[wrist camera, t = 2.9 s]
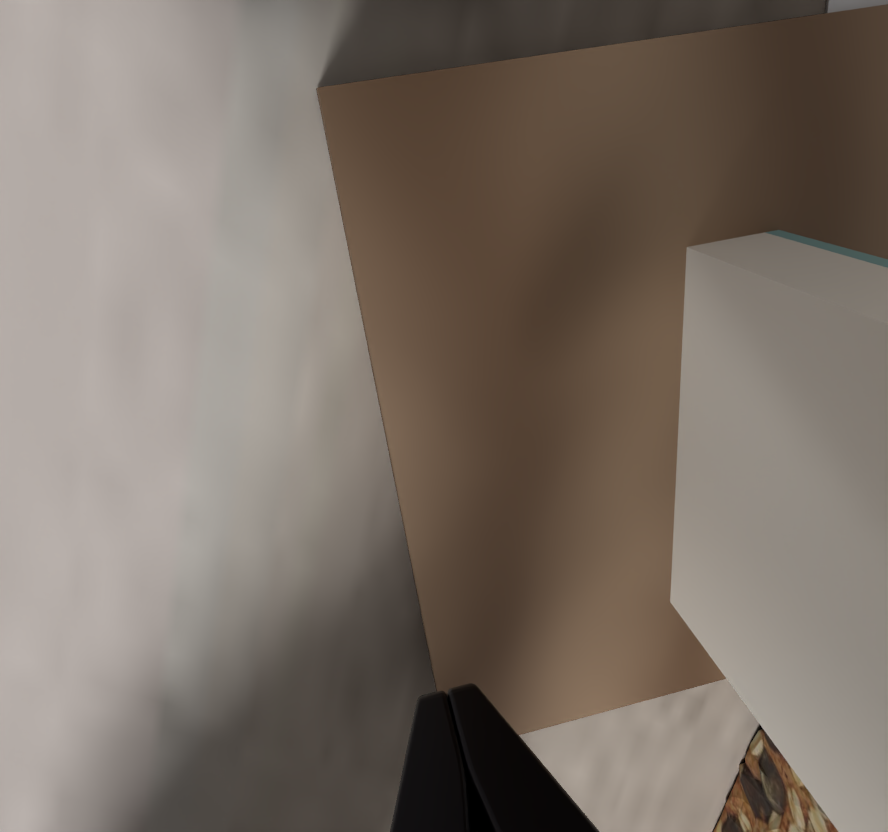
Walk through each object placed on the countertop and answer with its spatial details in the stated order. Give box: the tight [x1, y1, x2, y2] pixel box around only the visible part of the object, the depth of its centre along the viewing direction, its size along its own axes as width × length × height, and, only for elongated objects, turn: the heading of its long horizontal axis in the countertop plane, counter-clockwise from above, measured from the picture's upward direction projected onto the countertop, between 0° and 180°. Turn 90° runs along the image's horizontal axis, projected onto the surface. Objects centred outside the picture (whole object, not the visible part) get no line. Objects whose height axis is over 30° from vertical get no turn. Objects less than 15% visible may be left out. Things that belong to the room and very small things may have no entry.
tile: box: [670, 230, 888, 832], centre depth 11 cm, size 2×9×7 cm, turn 8°
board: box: [316, 4, 888, 735], centre depth 15 cm, size 16×16×1 cm
